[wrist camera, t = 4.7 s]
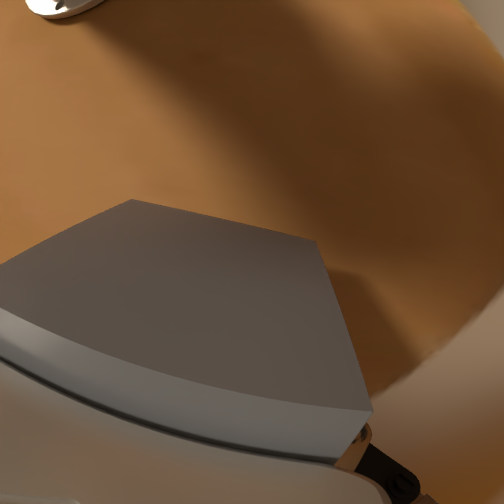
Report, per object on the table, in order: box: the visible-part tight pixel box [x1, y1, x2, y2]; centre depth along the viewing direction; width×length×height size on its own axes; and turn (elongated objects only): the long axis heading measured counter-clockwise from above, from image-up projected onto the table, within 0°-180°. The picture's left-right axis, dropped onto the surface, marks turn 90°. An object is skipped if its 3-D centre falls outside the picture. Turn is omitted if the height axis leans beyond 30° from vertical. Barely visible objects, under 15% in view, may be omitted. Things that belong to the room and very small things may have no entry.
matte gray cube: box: [0, 199, 373, 466], centre depth 10 cm, size 8×8×9 cm
